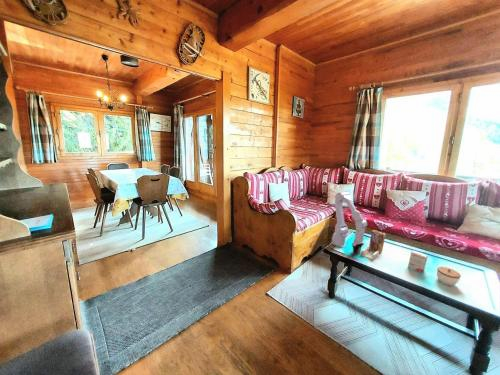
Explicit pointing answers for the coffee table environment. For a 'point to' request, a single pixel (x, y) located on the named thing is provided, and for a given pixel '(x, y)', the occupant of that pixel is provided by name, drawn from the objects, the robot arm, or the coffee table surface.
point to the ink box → (417, 261)
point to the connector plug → (357, 252)
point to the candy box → (377, 241)
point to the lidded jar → (448, 276)
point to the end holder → (370, 254)
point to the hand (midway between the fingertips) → (356, 251)
